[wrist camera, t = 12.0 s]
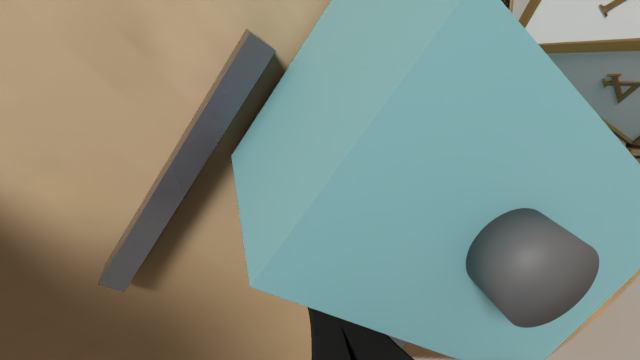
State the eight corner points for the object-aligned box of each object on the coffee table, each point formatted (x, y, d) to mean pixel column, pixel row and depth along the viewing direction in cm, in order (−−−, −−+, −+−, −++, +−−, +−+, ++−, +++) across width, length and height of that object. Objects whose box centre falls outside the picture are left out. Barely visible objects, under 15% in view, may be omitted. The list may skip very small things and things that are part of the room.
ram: (418, 253, 16) (555, 423, 10) (231, 155, 12) (258, 342, 6) (516, 139, 14) (749, 250, 8) (343, -18, 10) (545, -29, 4)
